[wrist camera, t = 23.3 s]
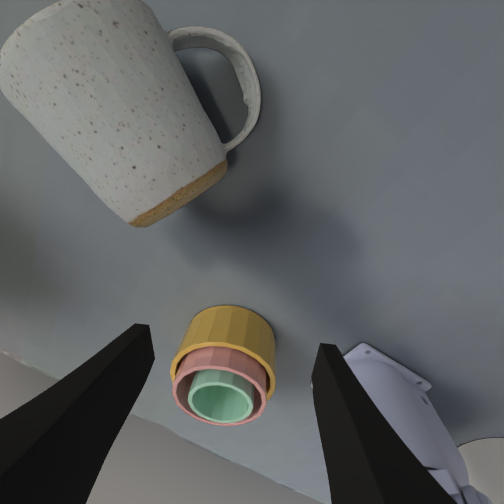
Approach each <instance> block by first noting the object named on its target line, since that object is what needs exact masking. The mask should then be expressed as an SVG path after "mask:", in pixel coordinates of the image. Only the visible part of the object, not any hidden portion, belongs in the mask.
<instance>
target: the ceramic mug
mask: <svg viewBox="0 0 504 504" xmlns="http://www.w3.org/2000/svg"><path fill="white" fill-rule="evenodd" d="M187 48H209V49H213V50H215V51H218V52H220V53H222V54H223V55H224V56H226V57H227V59H228V61H229V62H230V63H232V65H233V67H234V70H235V72H236V75H237V77H238V80H239V82H240V85H241V88H242V91H243V95H244V98H243V102H244V103H245V105H246V106H248V117H247V119H246V122H245V124H244V127H243V129H242V130H241V131H240V132H239V133H238V135H237V136H236V137H235V138H234V139H233V140H231V141H229V142H228V143H225V144H223V143H221V141H220V139H219V136H218V134H217V132H216V130H215V128H214V127H213V125H212V123H211V121H210V120H209V118H208V116H207V114H206V113H205V111H204V109H203V108H202V106H201V103H200V101H199V99H198V97H197V95H196V93H195V91H194V89H193V87H192V85H191V83H190V82H189V80H188V78H187V76H186V74H185V71H184V69H183V67H182V66H181V64H180V61H179V59H178V57H177V56H176V54H175V52H176V51H179V50H182V49H187ZM0 89H1V91H2V92H3V94H4V95H5V96H6V98H7V99H8V100H9V101H10V102H11V103H12V104H13V105H14V106H15V107H16V108H17V110H18V111H19V112H20V113H21V114H22V115H23V116H24V117H25V118H26V119H27V120H28V121H29V122H30V123H31V124H32V125H33V126H34V127H35V128H36V129H37V131H38V132H39V133H40V134H41V135H42V136H43V137H44V138H45V139H46V140H47V142H48V143H49V144H50V145H51V146H52V147H53V148H54V149H55V150H56V151H57V152H58V153H59V155H60V156H61V157H62V158H63V159H64V160H65V161H66V162H67V163H68V164H69V165H70V166H71V167H72V168H73V169H74V170H75V171H76V172H77V173H78V174H79V175H80V177H81V178H82V179H83V180H84V181H85V182H86V183H87V184H88V185H89V186H90V188H91V189H92V190H93V191H94V192H95V194H96V195H97V196H98V197H99V198H100V199H101V200H102V201H103V202H104V203H105V204H106V205H107V206H108V207H109V208H110V209H111V210H112V211H113V212H114V213H116V214H117V215H118V216H119V217H121V218H122V219H123V220H124V221H126V222H127V223H128V224H130V225H132V226H134V227H148V226H150V225H152V224H154V223H156V222H157V221H159V220H161V219H163V218H164V217H166V216H168V215H170V214H171V213H173V212H174V211H176V210H177V209H179V208H181V207H182V206H184V205H185V204H187V203H188V202H190V201H191V200H193V199H194V198H196V197H197V196H198V195H200V194H201V193H203V192H204V191H206V190H207V189H209V188H210V187H211V186H213V185H214V184H215V183H217V182H218V181H219V180H220V179H221V178H223V177H224V175H225V174H226V171H227V167H228V161H227V158H226V154H227V152H228V151H229V150H231V149H233V148H234V147H235V146H237V145H238V144H239V143H241V142H242V141H243V140H244V139H245V138H246V137H247V136H248V134H249V133H250V132H251V130H252V129H253V127H254V126H255V124H256V122H257V119H258V115H259V111H260V104H261V91H260V84H259V80H258V76H257V74H256V71H255V68H254V66H253V63H252V61H251V59H250V57H249V56H248V54H247V52H246V51H245V49H244V48H243V47H242V46H241V45H240V44H239V43H238V42H237V41H236V40H235V39H234V38H232V37H231V36H229V35H227V34H225V33H223V32H221V31H219V30H217V29H212V28H208V27H196V26H193V27H186V28H179V29H177V30H171V31H169V32H165V31H164V30H163V29H162V27H161V25H160V23H159V21H158V20H157V18H156V16H155V15H154V13H153V11H152V10H151V8H150V7H149V6H148V5H146V4H145V3H144V2H143V1H141V0H63V1H60V2H57V3H55V4H53V5H51V6H49V7H47V8H45V9H43V10H40V11H38V12H37V13H36V14H35V15H33V16H32V17H31V18H29V19H28V20H26V21H25V22H24V23H23V24H22V25H21V26H20V27H18V28H17V29H16V30H15V31H14V32H13V33H12V35H11V36H10V37H9V38H8V39H7V41H6V43H5V44H4V46H3V48H2V50H1V51H0Z"/></svg>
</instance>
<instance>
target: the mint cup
mask: <svg viewBox="0 0 504 504" xmlns="http://www.w3.org/2000/svg"><path fill="white" fill-rule="evenodd" d="M254 391H255V385H254V384H253V383H251V382H250V381H248V380H247V379H246V378H244V377H243V376H241V375H238V374H235V373H232V372H229V371H226V370H217V369H205V370H197V371H196V372H195V376H194V379H193V382H192V385H191V388H190V391H189V395H188V403H189V405H190V407H191V409H192V410H193V411H194V412H195V413H197V414H198V415H199V416H201V417H203V418H205V419H207V420H210V421H214V422H219V423H235V422H238V421H241V420H244V419H245V418H247V417H248V416H249V415H250V414H251V412H252V409H253V404H254Z"/></svg>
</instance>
